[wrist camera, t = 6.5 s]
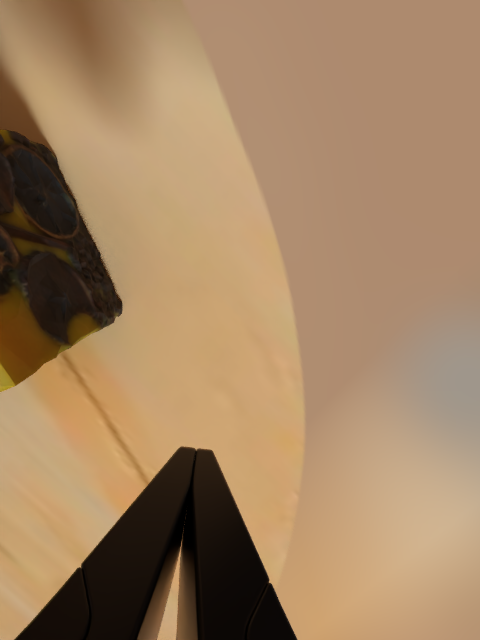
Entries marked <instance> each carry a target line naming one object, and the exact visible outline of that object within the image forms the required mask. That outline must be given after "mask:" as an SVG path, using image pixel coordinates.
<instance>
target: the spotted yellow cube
mask: <svg viewBox="0 0 480 640" xmlns="http://www.w3.org/2000/svg"><path fill="white" fill-rule="evenodd" d="M121 314H122V302H121V301H120V300H119V299H117V296H116V293H115V291H114V289H113V285H112V281H111V280H110V278H109V277H108V276H107V274H106V271H105V269H104V267H103V264H102V262H101V261H100V253H99V252H98V250H97V248H96V246H95V244H94V243H93V241H92V239H91V237H90V235H89V233H88V231H87V229H86V227H85V225H84V223H83V221H82V219H81V216H80V214H79V212H78V210H77V206H76V201H75V200H74V198H73V197H72V196H71V195H70V193H69V192H68V190H67V187H66V184H65V181H64V178H63V176H62V174H61V172H60V171H59V167H58V163H57V159H56V157H55V156H54V155H53V154H52V153H51V152H50V151H49V149H48V148H46V147H45V146H44V145H42V144H38V143H34V142H32V141H30V140H28V139H27V138H26V137H25V136H23V135H21V134H19V133H17V132H14V131H8V130H1V129H0V392H2V391H4V390H6V389H9V388H11V387H14V386H16V385H17V384H19V383H20V382H22V381H23V380H25V379H26V378H28V377H29V376H31V375H32V374H34V373H35V372H36V371H37V370H38V369H39V368H40V367H41V366H42V365H43V364H44V363H46V362H48V361H50V360H52V359H54V358H56V357H57V355H58V354H59V353H61V352H62V351H64V350H66V349H69V348H71V347H72V346H73V345H75V344H76V343H77V342H79V341H80V340H82V339H83V338H85V337H87V336H88V335H90V334H92V333H94V332H97V331H99V330H101V329H103V328H104V327H106V326H109V325H110V324H112V323H114V320H115V317H116V316H118V317H119V316H120V315H121Z"/></svg>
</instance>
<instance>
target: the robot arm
mask: <svg viewBox="0 0 480 640" xmlns="http://www.w3.org/2000/svg"><path fill="white" fill-rule="evenodd" d="M195 454H196V455H195ZM185 518H186V519H185ZM184 524H185V525H184ZM183 530H184V532H183ZM182 537H183V538H182ZM181 542H182V546H181ZM180 548H181V557H180V574H179V595H178V615H177V635H176V640H297V638H296V636H295V634H294V631H293V629H292V627H291V625H290V623H289V621H288V619H287V617H286V614H285V612H284V610H283V608H282V606H281V604H280V602H279V600H278V597H277V595H276V592H275V590H274V588H273V586H272V584H271V583H269V577H268V575H267V573H266V570H265V568H264V566H263V563H262V561H261V559H260V557H259V554H258V552H257V550H256V548H255V545H254V543H253V541H252V539H251V536H250V534H249V532H248V530H247V527H246V525H245V523H244V521H243V518H242V516H241V514H240V511H239V509H238V507H237V505H236V502H235V500H234V498H233V496H232V493H231V491H230V489H229V487H228V484H227V482H226V480H225V478H224V475H223V473H222V471H221V468H220V466H219V464H218V462H217V459H216V457H215V455H214V453H213V451H212V450H208V449H200V448H199V449H197V450H196V449H195V448H191V447H180V448H179V449H178V450H177V451H176V452H175V453H174V454H173V456H172V457H171V458H170V459H169V460H168V462H167V463H166V464H165V465H164V466H163V468H162V469H161V470H160V471H159V472H158V474H157V475H156V476H155V477H154V478H153V479H152V481H151V482H150V483H149V484H148V485H147V487H146V488H145V489H144V490H143V491H142V493H141V494H140V495H139V496H138V497H137V498H136V500H135V501H134V502H133V503H132V504H131V506H130V507H129V508H128V509H127V510H126V512H125V513H124V514H123V515H122V516H121V517H120V519H119V520H118V521H117V522H116V523H115V525H114V526H113V527H112V528H111V529H110V531H109V532H108V533H107V534H106V535H105V536H104V538H103V539H102V540H101V541H100V542H99V544H98V545H97V546H96V547H95V548H94V550H93V551H92V552H91V553H90V554H89V555H88V557H87V558H86V559H85V560H84V561H83V563H82V564H81V568H80V567H79V568H77V569H76V571H75V572H74V573H73V574H72V575H71V577H70V578H69V579H68V580H67V581H66V583H65V584H64V585H63V586H62V587H61V589H60V590H59V591H58V592H57V593H56V594H55V595H54V596H53V598H52V599H51V600H50V601H49V602H48V603H47V604H46V606H45V607H44V608H43V609H42V610H41V611H40V612H39V613H38V615H37V616H36V617H35V618H34V619H33V620H32V621H31V623H30V624H29V625H28V626H27V627H26V628H25V629H24V630H23V631H22V632H21V633H20V634H19V635H18V636H17V637H16V638H15V639H14V640H157V637H158V633H159V630H160V626H161V622H162V618H163V614H164V611H165V607H166V603H167V599H168V595H169V591H170V588H171V584H172V580H173V576H174V572H175V569H176V565H177V561H178V557H179V552H180Z"/></svg>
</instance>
